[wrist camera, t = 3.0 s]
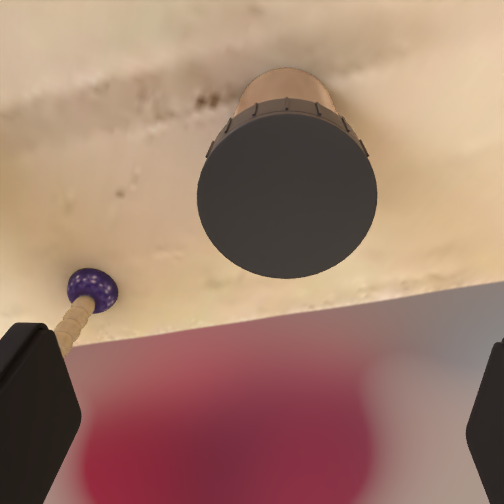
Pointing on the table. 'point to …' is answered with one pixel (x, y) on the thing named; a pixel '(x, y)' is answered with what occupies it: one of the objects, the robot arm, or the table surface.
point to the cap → (287, 189)
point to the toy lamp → (84, 304)
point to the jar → (285, 89)
